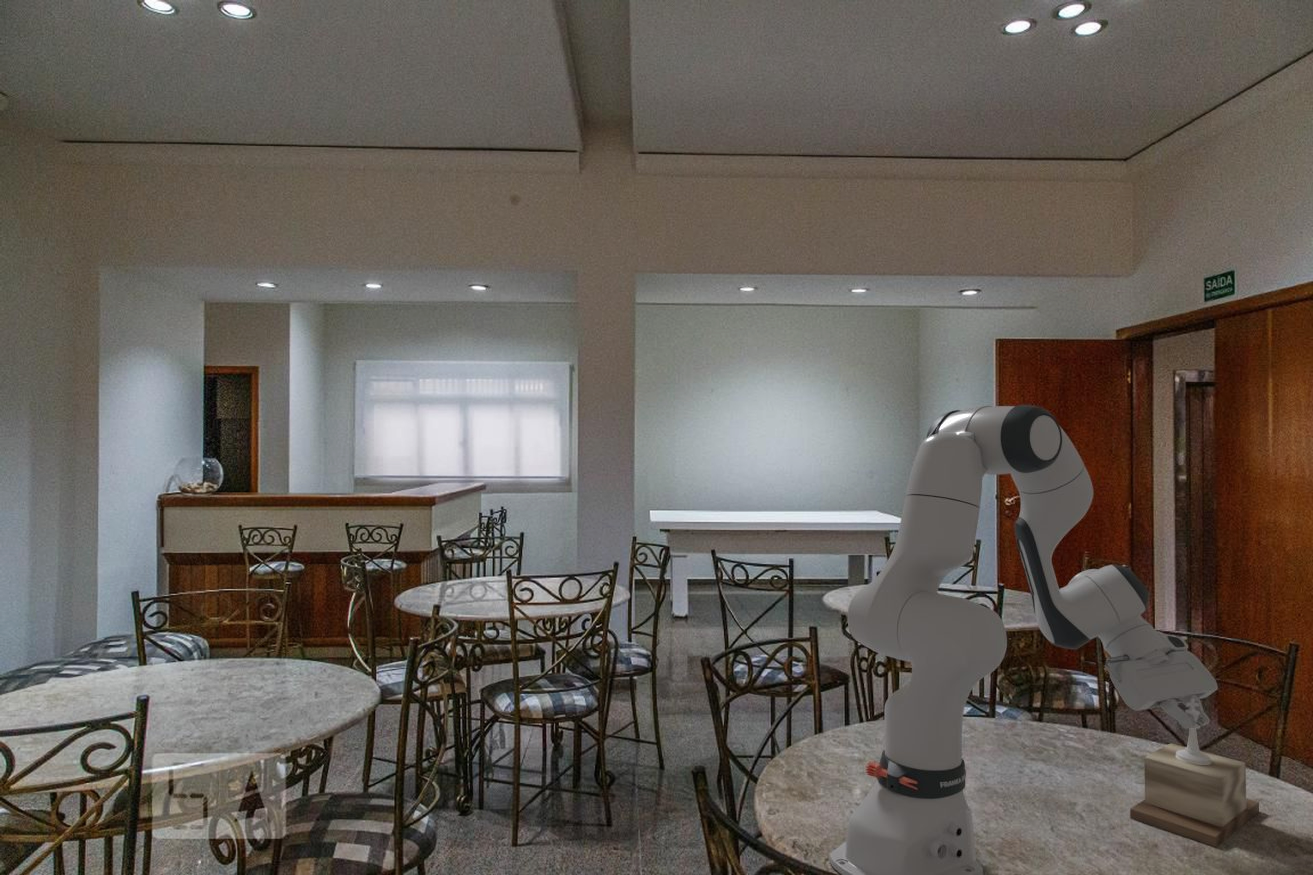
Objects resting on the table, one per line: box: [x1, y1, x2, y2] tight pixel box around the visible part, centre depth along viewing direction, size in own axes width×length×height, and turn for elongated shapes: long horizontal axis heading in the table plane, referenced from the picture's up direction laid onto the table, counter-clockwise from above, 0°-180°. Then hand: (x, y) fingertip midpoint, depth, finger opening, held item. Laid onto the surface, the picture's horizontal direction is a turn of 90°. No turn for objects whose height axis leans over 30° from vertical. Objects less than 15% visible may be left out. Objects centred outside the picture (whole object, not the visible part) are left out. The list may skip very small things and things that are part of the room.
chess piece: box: [1175, 699, 1211, 765], centre depth 131 cm, size 5×5×10 cm
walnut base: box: [1129, 742, 1260, 848], centre depth 130 cm, size 20×12×9 cm, turn 127°
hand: (1198, 725), depth 130 cm, fingers closed on chess piece, 2 cm apart
